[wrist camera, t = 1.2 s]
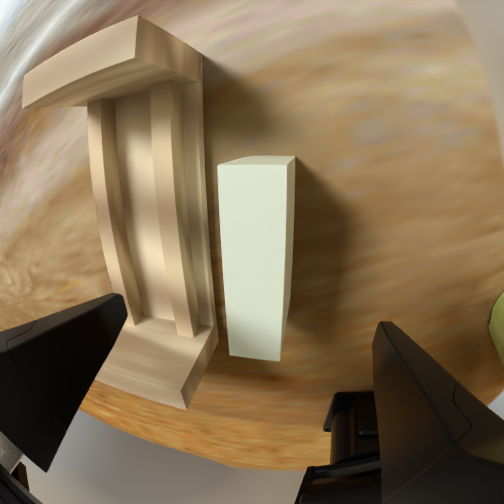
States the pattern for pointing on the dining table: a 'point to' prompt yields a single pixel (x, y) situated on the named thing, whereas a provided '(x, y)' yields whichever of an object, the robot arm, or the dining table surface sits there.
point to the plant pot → (498, 326)
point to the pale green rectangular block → (257, 251)
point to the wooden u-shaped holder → (145, 197)
